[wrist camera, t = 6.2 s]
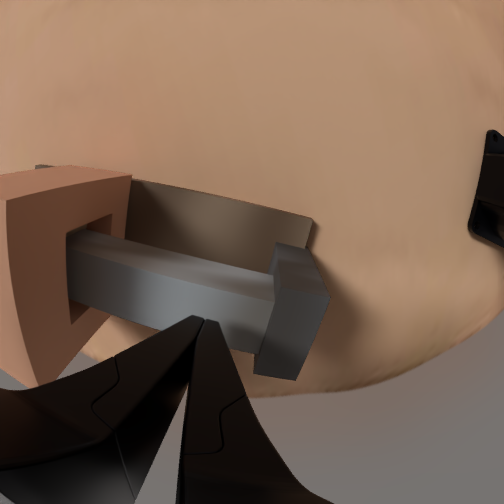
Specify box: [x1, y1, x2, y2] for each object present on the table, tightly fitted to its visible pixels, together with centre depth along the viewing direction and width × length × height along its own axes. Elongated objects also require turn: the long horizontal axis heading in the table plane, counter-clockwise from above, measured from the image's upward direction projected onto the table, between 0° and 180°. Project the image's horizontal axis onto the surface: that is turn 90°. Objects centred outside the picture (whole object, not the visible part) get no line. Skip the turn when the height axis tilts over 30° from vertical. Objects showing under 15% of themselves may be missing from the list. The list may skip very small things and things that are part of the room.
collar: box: [0, 165, 132, 388], centre depth 9 cm, size 4×7×8 cm, turn 167°
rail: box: [35, 165, 331, 381], centre depth 11 cm, size 16×6×5 cm, turn 77°
